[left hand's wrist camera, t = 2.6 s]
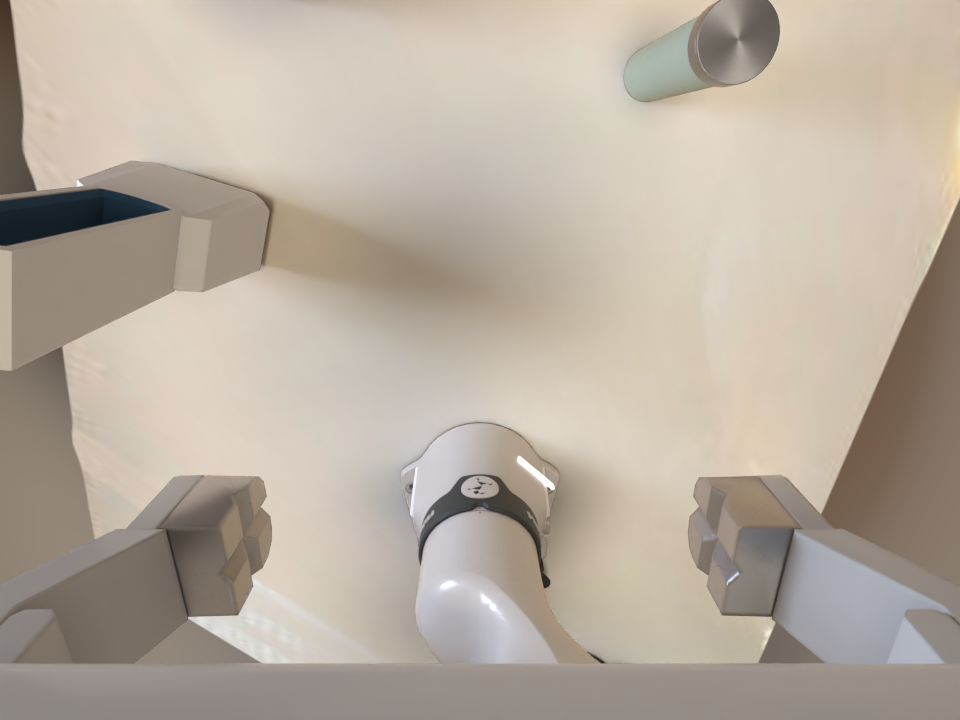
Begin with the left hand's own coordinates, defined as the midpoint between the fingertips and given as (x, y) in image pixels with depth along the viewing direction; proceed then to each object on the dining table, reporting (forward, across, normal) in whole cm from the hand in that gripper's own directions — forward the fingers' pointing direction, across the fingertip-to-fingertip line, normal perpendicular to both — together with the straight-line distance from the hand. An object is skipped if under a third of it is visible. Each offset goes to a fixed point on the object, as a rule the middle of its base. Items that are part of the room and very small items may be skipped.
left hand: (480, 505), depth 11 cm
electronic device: (+48, -27, 0) cm, 55 cm away
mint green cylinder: (+48, +15, +12) cm, 52 cm away
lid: (+29, +15, +12) cm, 35 cm away
